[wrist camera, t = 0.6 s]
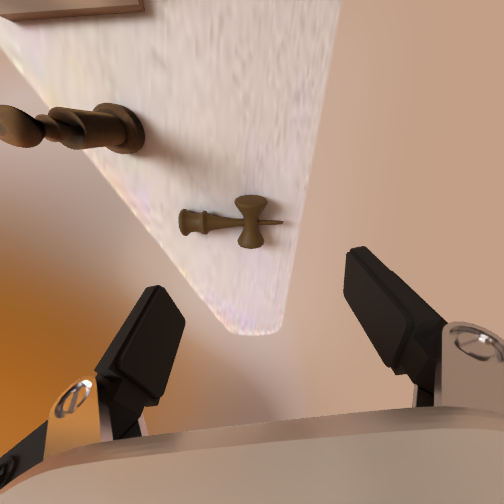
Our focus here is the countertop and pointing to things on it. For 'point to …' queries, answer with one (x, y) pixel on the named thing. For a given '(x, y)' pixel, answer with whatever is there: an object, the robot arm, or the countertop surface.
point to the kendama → (231, 221)
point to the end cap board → (65, 8)
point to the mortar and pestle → (74, 128)
